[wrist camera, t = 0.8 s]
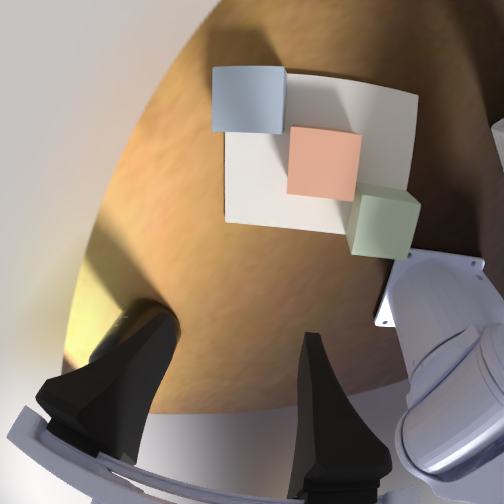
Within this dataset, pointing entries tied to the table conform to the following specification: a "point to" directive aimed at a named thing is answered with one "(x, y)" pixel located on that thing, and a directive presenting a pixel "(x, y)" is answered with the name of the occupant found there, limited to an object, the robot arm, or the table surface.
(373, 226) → the sage block
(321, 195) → the terracotta block
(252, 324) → the table surface
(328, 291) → the table surface
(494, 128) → the skincare box
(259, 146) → the felt mat
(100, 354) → the supplement bottle
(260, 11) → the table surface
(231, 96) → the slate block
